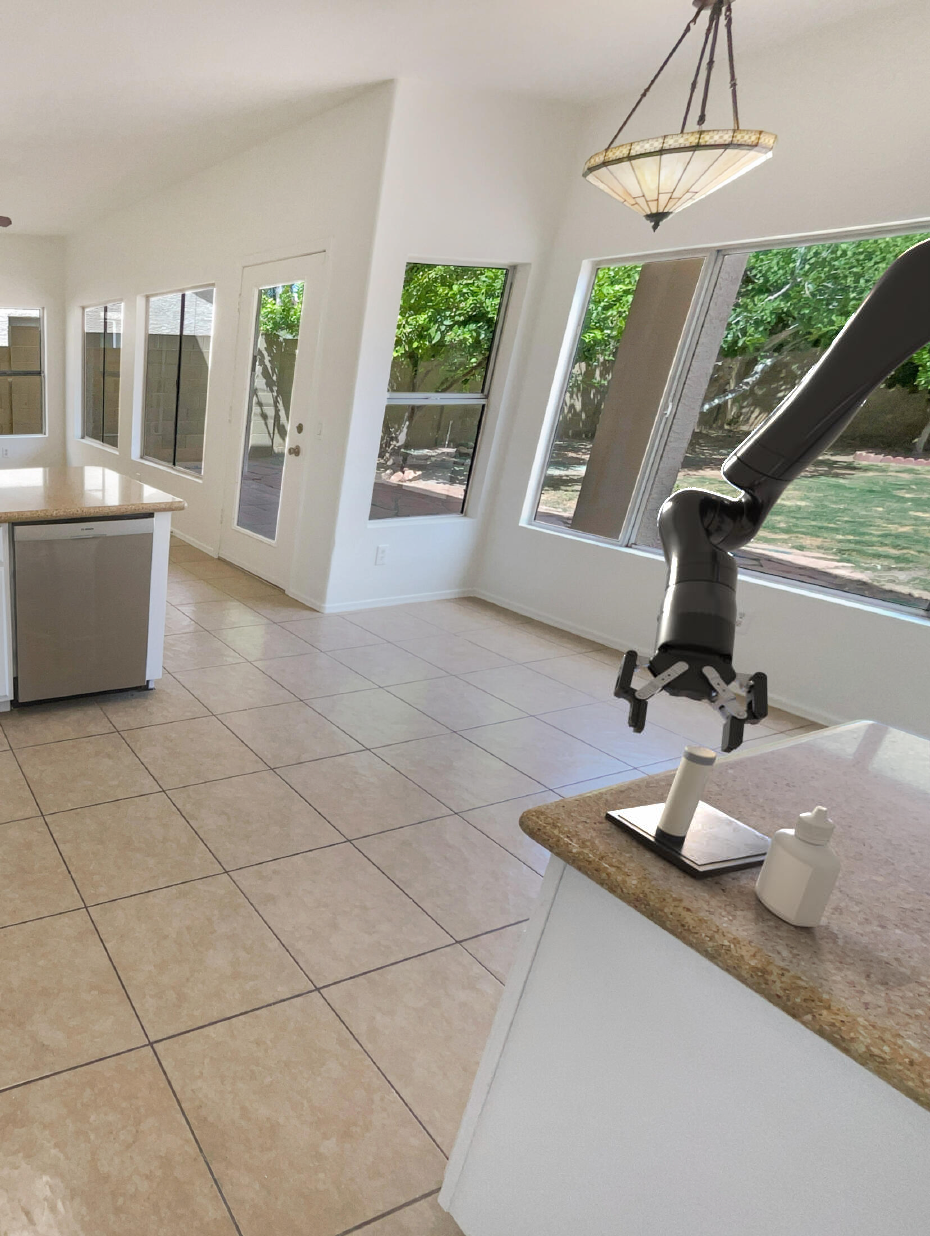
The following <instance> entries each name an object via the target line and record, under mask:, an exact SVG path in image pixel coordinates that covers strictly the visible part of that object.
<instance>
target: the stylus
mask: <svg viewBox="0 0 930 1236" xmlns="http://www.w3.org/2000/svg"><path fill="white" fill-rule="evenodd" d="M716 759H717V753H716V752H715V751H713V750H711V749H710V748H706V747H704V746H700V745H693V744H692V745H691V744H689V745H687V746H685V748H684V750H683V753H682V757H681V758H680V762H679V765H678V768H677V770H676V773H675V776H674V778H673V781H672V784H671V787H670V790H669V793H668V795H667V798H666V801H665V803H666V804H665V806H664V809H663V812H662V815H661V817H660V820H659V823H658V825H657V828H656V832H657V833H658V834H659V835H660V836H662V837H664V838H666V839H668V840H671V841H675V842H683V841H684V840H685V838H686V836H687V832H688V830H689V827H690V824H691V822H692V819H693V816H694V814H695V811H696V809H697V806H698V803H699V801H701V798H702V795H703V792H704V790H705V788H706V785H707V782H708V779H709V777H710V774H711V773H712V769H713V766H714V764H715V762H716Z"/></svg>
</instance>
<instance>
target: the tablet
mask: <svg viewBox="0 0 930 1236" xmlns="http://www.w3.org/2000/svg"><path fill="white" fill-rule="evenodd" d="M665 804H666V802H663V803H657V804H650V805H643V806H636V807H630V808H624V809H623V808H622V809H617V810H610V811H606V812H605V816H604V820H606V821H607V822H608V823H610V824H612V825H613V826H615V827H617V828H618V829H619V830H621V831H623V832H624V833H625V834H627V835H629V836H630V837H632V838H634V839H636V841H638V842H640V843H641V844H643V845H645V846H646V847H647V848H649V849H651V850H652V851H653V852H655V853H657V854H658V855H660V856H662V857H663V858H664V859H666V860H668V861H669V862H671V863H672V864H674V865H675V866H677V867H678V868H680V869H682V870H683V871H685V872H686V873H688V874H689V875H690V876H692V877H694V878H695V879H697V880H698V879H704V878H709V877H710V878H711V877H715V876H720V875H726V874H730V873H735V872H742V871H745V870H746V871H747V870H750V869H755V868H760V867H762V866H763V863H764V860H765V858H766V855H767V852H768V849H769V846H770V844H771V841H772V839H773V838H770V837H769V836H767V835H765V834H763V833H761V832H760V831H757V830H755V829H754V828H752V827H750V826H748V825H746V824H744V823H743V822H741V821H739V820H737V819H735V818H733V816H732V817H731V816H730V815H728V814H726V813H724V812H722V811H720V810H719V809H717V808H715V807H713V806H711V805H710V804H707V803H705V802H704V801H703V800H700V801H699V803H698V806H697V809H696V811H695V814H694V816H693V819H692V822H691V824H690V827H689V830H688V832H687V836H686V838H685V840H684V841H683V842H675V841H671V840H668V839H666V838H664V837H662V836H660V835H659V834H658V833H657V832H656V828H657V825H658V823H659V820H660V817H661V815H662V812H663V809H664V806H665Z"/></svg>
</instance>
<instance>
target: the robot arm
mask: <svg viewBox="0 0 930 1236" xmlns="http://www.w3.org/2000/svg"><path fill="white" fill-rule="evenodd" d="M928 344H930V238H928V239H925V240H924V241H921V242H918V243H917V244H915V245H913V246H912V247H910V248H909V249H907V250H906V251H905V252H903V253H901V254H900V255H899V256H898V257H897V258H895V259H894V260H893V262H891V264H889V266H888V267H887V268H886V270H884V272H882V274H881V275H880V277H879V278H878V279H877V281H876V282H875V283H874V285H873V286H872V288H871V289H870V290H869V292H868V293H867V295H866V296H865V297H864V299H863V300H862V302H860V304H859V306H858V307H857V309H856V310H855V311H854V313H853V314H852V316H851V317H850V319H849V320H848V321H847V322H846V324H845V326H844V327H843V329H842V330H841V331H840V332H839V333H838V335H837V336H836V337H835V339H834V340H833V341H832V343H831V344H830V346H829V347H828V348H827V349H826V350H825V351H824V352H823V354H822V355H821V356H820V358H818V360H817V362H815V364H814V365H813V366H812V368H811V369H810V370H809V371H808V373H806V375H805V376H804V377H803V378H802V380H801V381H799V383H798V384H797V385H796V386H795V388H794V389H792V391H791V392H790V393H789V394H788V395H787V396H786V397H785V398H784V400H782V401H781V402H780V404H779V405H778V406H777V407H776V408H775V409H774V410H773V411H772V412H770V414H769V415H768V416H767V417H766V418H765V420H764V421H762V422H761V424H759V426H757V428H756V429H754V431H752V432H751V434H750V435H749V436H748V437H747V438H746V439H745V440H744V441H743V442H742V443H741V444H740V445H739V446H738V447H737V448H736V449H735V450H734V451H733V452H732V453H731V454H730V455H729V457H727V459H725V461H724V463H723V464H722V467H721V471H720V472H721V475H722V477H723V479H724V480H725V481H727V483H728V484H730V485H731V486H732V487H734V488H736V489H738V490H739V491H741V492H742V493H741V495H740V496H738V497H737V498H732V497H730V496H726V495H722V494H719V493H716V492H713V491H709V490H706V489H702V488H696V487H692V488H691V487H690V488H689V487H688V488H684V489H680V490H678V491H677V492H675V493H673V494H672V495H670V497H668V498H667V499H666V500H665V501H664V503H663V504H662V506H661V507H660V510H659V513H658V517H657V526H656V527H657V534H658V535H657V536H658V538H659V542H660V543H659V544H660V546H661V550H662V555H663V558H664V562H665V564H666V569H667V571H666V580H665V587H664V592H663V593H664V594H663V597H662V600H661V603H660V605H659V606H660V607H659V610H658V611H659V613H658V615H657V618H656V622H657V626H656V633H655V634H656V635H655V642H654V648H653V655H652V657H649V656H644V655H639V654H638V652H637V651H636V650H634V649H629V650H627V651H626V652H625V654H624V655H623V656H622V658H621V660H620V664H619V669H618V672H617V677H616V681H615V685H614V689H613V696H614V697H615V698H617V699H623V700H625V701H627V702H628V703H629V711H628V716H627V726H628V727H629V728H632V733H635V734H640V735H641V733H642V732H643V731H644V730H645V727H646V720H647V712H648V706H649V700H651V699H653V698H655V696H657V695H659V694H660V693H662V692H665V693H667V694H668V696H671V697H676V698H687V699H689V700H691V701H696V702H702V701H706V703H708V705H709V706H710V707H711V709H712V710H713V711H716V712H718V714H719V715H720V717H722V719H724V721H725V722H724V723H723V724H722V732H721V733H722V734H721V744H720V752H722V753H727V754H730V753H732V752H733V751H736V750H737V749H739V748H740V747H741V746H742V744H743V743H744V733H745V725H752V726H756V725H759V723H760V722H761V721H762V720H763V719H766V717H768V716H769V704H768V703H769V702H768V697H769V696H768V675H767V674H766V673H765V672H762V671H756V672H755V673H753V674H750V673H745V672H744V673H743V672H736V670H735V668H734V666H733V660H734V659H733V658H734V649H735V638H736V637H735V636H736V627H737V616H738V615H737V614H738V608H737V607H738V605H737V598H736V597H737V587H738V576H739V565H738V560H737V559H736V558H735V557H734V555H733V554H731V553H730V552H733V551H737V550H740V549H741V548H743V547H745V546H746V545H748V544H749V543H751V542H752V541H753V540H754V539H755V538H756V536H757V535H758V533H759V532H760V530H761V529H762V527H763V525H764V523H765V522H766V521H767V520H766V519H767V518H768V516H769V515H770V513H771V511H772V510H773V508H774V507H775V505H776V504H777V502H778V501H779V500H780V498H781V497H782V495H783V494H784V492H785V491H786V489H787V488H788V487H789V486H790V484H792V483H793V482H794V481H795V480H796V479H797V478H798V477H799V476H800V475H801V474H803V472H805V471H806V470H807V469H808V468H809V467H810V466H811V465H813V463H814V462H815V461H816V460H817V459H819V458H820V457H821V456H822V455H823V454H824V453H825V452H826V451H827V450H828V449H829V448H830V447H831V446H832V445H833V444H834V443H835V442H836V440H837V439H839V437H840V436H841V435H842V433H844V431H845V430H846V428H847V427H848V426H849V425H850V423H851V422H852V421H853V419H854V417H855V416H856V415H857V413H858V412H859V411H860V409H861V408H862V407H863V405H864V404H865V402H866V401H867V400H868V399H869V397H870V396H871V395H872V394H873V393H874V392H875V391H876V389H877V388H878V387H879V386H880V385H881V384H883V382H884V381H885V380H886V379H887V378H888V377H890V375H891V374H892V373H893V372H894V371H896V370H897V369H898V368H899V367H900V366H902V364H904V363H905V362H906V361H907V360H908V359H910V358H911V357H912V356H914V355H915V354H917V353H918V352H919V351H920V350H922V349H923V348H924V347H926V346H927V345H928ZM642 668H647V671H648V672H649V673H650V674H651V676H652V677H653V679H651V680H650V681H649V682H648V683H647V684H645V685H644V686H642V687H641V688H639V689H636V688H634V687H632V683H633V682H632V681H633V677H634V674H635V673H638V672H640V671H641V669H642ZM733 683H735V684H737V686H738V688H739V690H740V691H741V692H742V693H745V709H744V707H743V706H742V705H741V703H739V702H738V701H737V696H736V695H735V693H734V692H733V691H732V690H731V688H729V686H730V685H731V684H733Z"/></svg>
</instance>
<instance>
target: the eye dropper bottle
mask: <svg viewBox="0 0 930 1236" xmlns="http://www.w3.org/2000/svg"><path fill="white" fill-rule="evenodd" d="M796 821H797V822H796V825H795V827H794V829H791V828H782V829H778V830H777V831H775V832H774V834H773V837H772V838H771V839H772V841H771V844H770V846H769V849H768V852H767V855H766V858H765V860H764V863H763V866H761V869H760V872H759V875H758V878H757V880H756V884H755V886H754V890H755V894H756V896H757V898H758V900H759V901H760V902H761V903H762V904H763V905H764V906H765V907H766V908H767V909H768V910H769V911H770V912H772V913H773V914H774V915H775V916H777V917H779V918H780V919H782V920H783V921H785V922H786V923H788V924H790V925H792V926H796V927H807V928H817V927H819V925H820V923H821V921H822V919H823V916H824V913H825V910H826V907H827V906H828V903H829V900H830V898H831V896H832V893H833V890H834V887H835V885H836V882H837V880H838V877H839V874H840V871H841V868H842V867H841V862H840V859H839V857H838V854H836V852H835V850H834V849H833V848H832V847H831V846H830V841H831V839H832V836H833V833H834V831H835V828H836V824H835V823H834V821H833V820H831V819H829V818H828V808H827V807H825V806H823V805H816V806H815V808H814V809H813V810H812V812H805V813H800V814H799V815H798V819H797V820H796Z"/></svg>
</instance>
